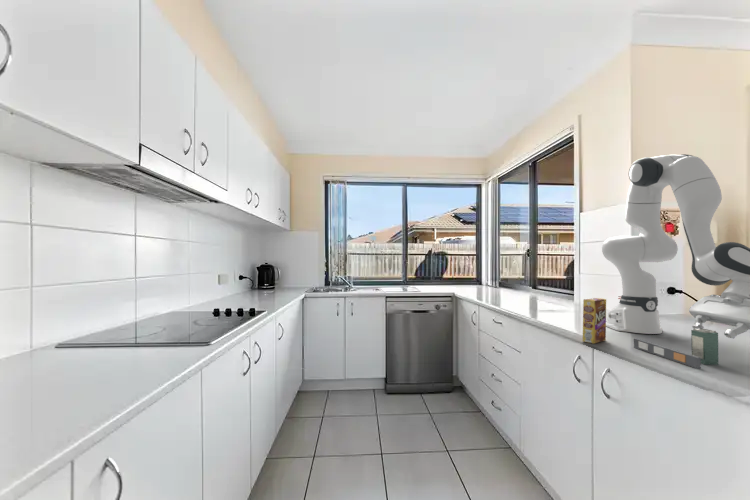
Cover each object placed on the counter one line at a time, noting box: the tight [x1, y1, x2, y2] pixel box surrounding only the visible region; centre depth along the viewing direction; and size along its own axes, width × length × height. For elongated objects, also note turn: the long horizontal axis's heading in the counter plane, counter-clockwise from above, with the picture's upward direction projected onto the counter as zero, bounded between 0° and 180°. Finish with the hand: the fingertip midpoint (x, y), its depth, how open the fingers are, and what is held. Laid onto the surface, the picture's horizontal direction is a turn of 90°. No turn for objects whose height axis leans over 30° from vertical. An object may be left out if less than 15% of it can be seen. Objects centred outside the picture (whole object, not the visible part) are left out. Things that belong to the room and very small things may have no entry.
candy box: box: [582, 297, 607, 345], centre depth 127 cm, size 9×4×15 cm, turn 123°
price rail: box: [633, 337, 702, 369], centre depth 108 cm, size 22×1×3 cm, turn 3°
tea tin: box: [691, 328, 719, 366], centre depth 102 cm, size 4×4×9 cm
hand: (711, 332), depth 102 cm, fingers open, 8 cm apart
